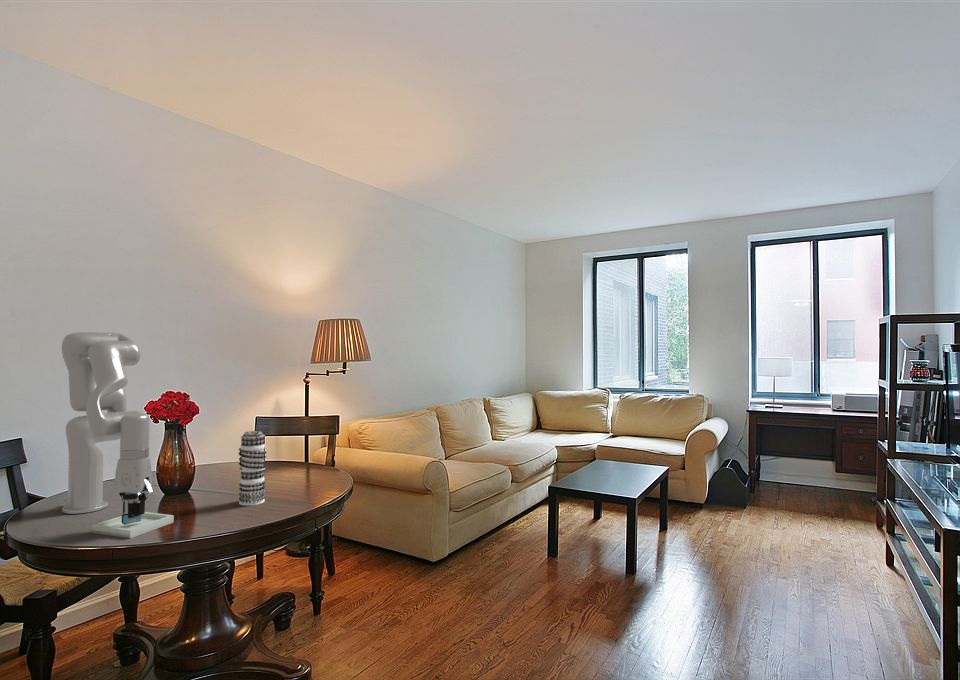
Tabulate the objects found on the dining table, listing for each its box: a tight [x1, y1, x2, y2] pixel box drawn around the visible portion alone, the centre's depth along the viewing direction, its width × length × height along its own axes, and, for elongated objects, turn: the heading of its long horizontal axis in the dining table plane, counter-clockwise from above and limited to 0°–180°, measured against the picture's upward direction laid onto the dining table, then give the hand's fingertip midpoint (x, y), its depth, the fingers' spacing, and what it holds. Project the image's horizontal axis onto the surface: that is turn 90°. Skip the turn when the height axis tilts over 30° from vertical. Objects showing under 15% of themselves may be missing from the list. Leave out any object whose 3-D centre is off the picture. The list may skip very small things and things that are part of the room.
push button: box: [120, 493, 147, 525], centre depth 166 cm, size 7×5×10 cm
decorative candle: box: [238, 430, 267, 507], centre depth 193 cm, size 9×9×25 cm
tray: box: [91, 511, 175, 539], centre depth 166 cm, size 15×15×2 cm
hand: (133, 513), depth 166 cm, fingers closed on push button, 3 cm apart
